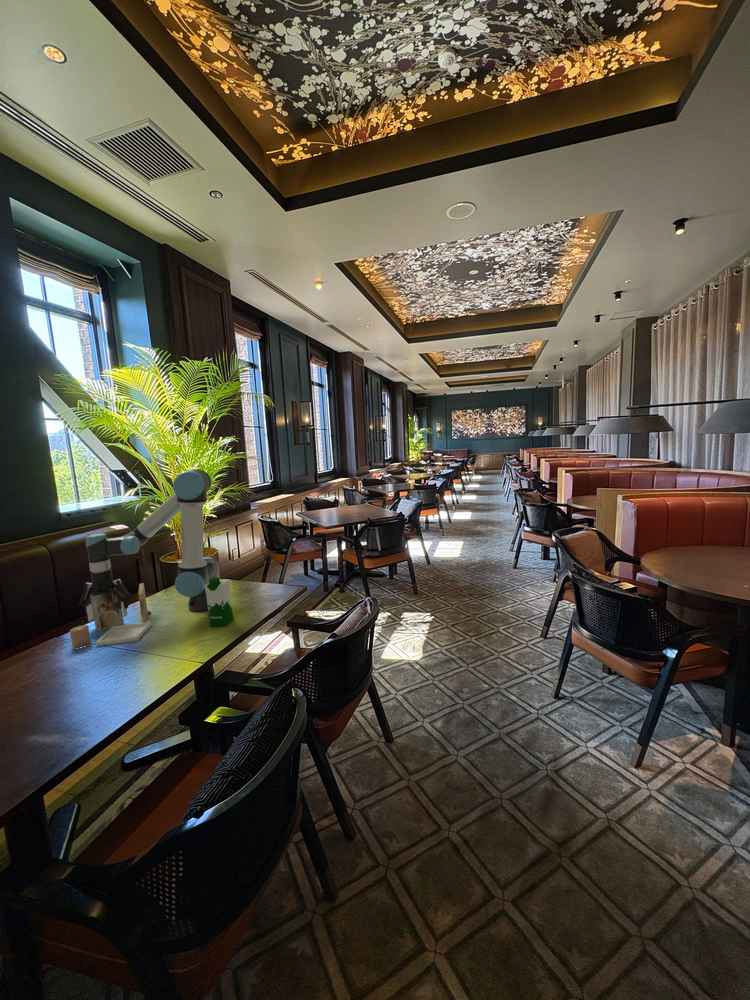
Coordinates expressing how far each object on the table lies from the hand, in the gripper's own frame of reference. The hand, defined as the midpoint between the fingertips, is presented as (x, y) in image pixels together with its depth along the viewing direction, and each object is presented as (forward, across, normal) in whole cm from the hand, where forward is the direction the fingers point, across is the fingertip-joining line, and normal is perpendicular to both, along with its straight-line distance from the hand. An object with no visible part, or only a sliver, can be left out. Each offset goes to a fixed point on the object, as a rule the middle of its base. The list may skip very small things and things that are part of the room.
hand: (108, 618), depth 180 cm
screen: (+4, -13, -4) cm, 14 cm away
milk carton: (+4, -49, +13) cm, 51 cm away
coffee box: (+4, 0, 0) cm, 4 cm away
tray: (+4, -11, +12) cm, 17 cm away
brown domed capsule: (+4, +3, +17) cm, 18 cm away
